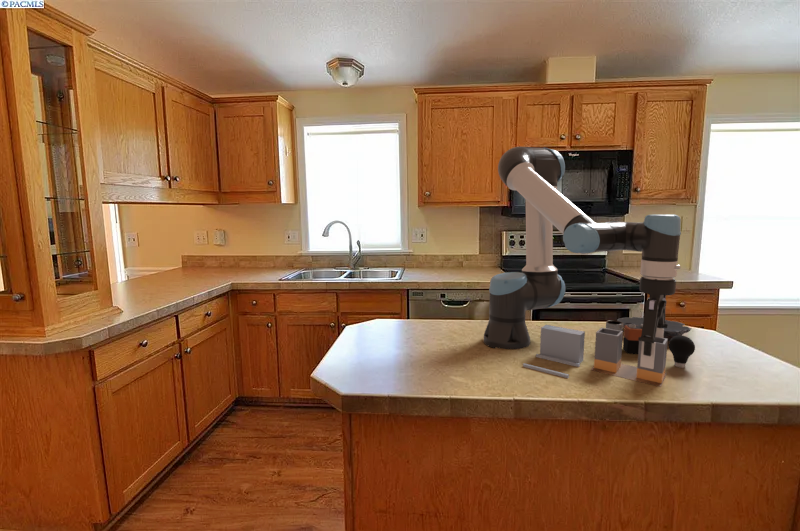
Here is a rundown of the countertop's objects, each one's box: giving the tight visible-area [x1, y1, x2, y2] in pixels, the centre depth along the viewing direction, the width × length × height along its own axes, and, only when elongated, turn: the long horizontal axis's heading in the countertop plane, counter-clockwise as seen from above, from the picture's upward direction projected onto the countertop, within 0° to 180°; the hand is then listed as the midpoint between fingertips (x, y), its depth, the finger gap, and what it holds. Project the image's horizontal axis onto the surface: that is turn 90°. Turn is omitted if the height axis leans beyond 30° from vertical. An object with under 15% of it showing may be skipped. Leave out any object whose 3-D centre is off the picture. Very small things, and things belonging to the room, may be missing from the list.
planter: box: [605, 319, 624, 332], centre depth 119 cm, size 4×4×10 cm
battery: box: [622, 324, 643, 355], centre depth 118 cm, size 4×7×10 cm, turn 78°
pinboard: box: [590, 363, 668, 388], centre depth 104 cm, size 16×10×8 cm, turn 49°
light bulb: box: [668, 335, 696, 369], centre depth 107 cm, size 6×6×10 cm
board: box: [616, 316, 692, 342], centre depth 137 cm, size 22×22×5 cm
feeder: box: [522, 324, 586, 379], centre depth 110 cm, size 12×15×10 cm
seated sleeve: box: [593, 327, 624, 373], centre depth 106 cm, size 5×5×10 cm
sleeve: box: [636, 336, 669, 383], centre depth 100 cm, size 5×5×10 cm
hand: (651, 359), depth 100 cm, fingers open, 13 cm apart
